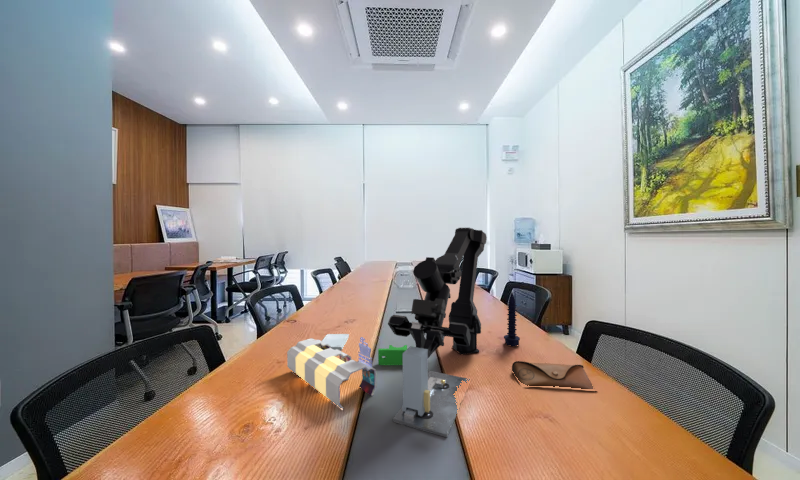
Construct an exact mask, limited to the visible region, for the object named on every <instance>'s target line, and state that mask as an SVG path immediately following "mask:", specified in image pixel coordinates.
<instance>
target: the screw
mask: <svg viewBox="0 0 800 480" xmlns="http://www.w3.org/2000/svg"><path fill="white" fill-rule="evenodd" d="M516 304H517V303H516V299H515V295H514V293H513V291H511V292H510V294H509V298H508V303H507V304H506V306H507V309H506V310H507V314H506V315H507V319H506V320H507V324H506V325H507V328H506V329H507V330H508V331H507V333H506V334H505V335H504V336H503V339H504V343H505V344H506V346H507V345H511V346H510V347H513V346H515V347H518V346H517V345H520V340H521V338H520V337H519V336H518V335H517V327H516V326H518V325H517V324H516V323H517V322H516V321H518V320H517V319H516V317H517V316H518V315H517V314H516V313H517V311H518V309H517V305H516Z"/></svg>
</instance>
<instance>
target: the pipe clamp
mask: <svg viewBox="0 0 800 480" xmlns="http://www.w3.org/2000/svg"><path fill="white" fill-rule="evenodd" d="M407 349H408V345H407V344H405V345H403V346H400V347H396V346H393V345H392V344H389V345H388V348H378V350H377V354H378V355H377V359H378V360H377V361H378V362H377V363H378V364H377V365H378V366H403V352H405V351H406V350H407Z"/></svg>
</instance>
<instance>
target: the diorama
mask: <svg viewBox="0 0 800 480" xmlns="http://www.w3.org/2000/svg"><path fill="white" fill-rule="evenodd" d="M365 341H366V339H365V338H364V337H363V336H360V339H359V342H358V348H359V351H358V352H357V353H358V361H356V360H354V359H352V356H351V355H349V354H347V353H345V352H343V351H342V350H338V349H336V350H334V349H332V348H331V346H329V345H328V344H326V343H324V342H322V340H320V339H314V338H308V339H304V340H300V341H297V342H296V344H295V345H294V346H291V347H290V348H289V350H287V352H286V353H287V354H286V355H287V356H286V358H287V360H286V361H287V365H286V366H287V368H288V369H289V370H290V371H291V370H292V371H293V372H294V373H296V374H297V375H298V376H299V377H301V378H302V379H303V380H305V381H306V382H307V383H309V384H310V385H311V386H313V387H314V388H315V389H317V390H318V391H319V392H320V393H322V394H323V395H324V396H326V397H327V398H328V399H330V400H331V401H332V402H334V403H335V404H336V405H338V406H339V407H340V408H344V407H343V405H342V404H341V402H340V400H341V399H340V398H341V389H340V388H341V384H342V383H343V382H344V381H349V378H350V376H351V375H352V374H353V373H357V372H359V371H362V373H361V376H362V379H361V383H360V384H359V387H361V388H362V390H361V391H363V392H365V393H366V394H368V396H369V395H370V397H371V396H374V393H375V391H376V389H377V369H376V368H374V367H373V357H371V354H372V353H371V352H372V347H371V348H370V347H369V343H367V342H365ZM338 356H339V357H338ZM293 372H292V373H293ZM294 373H293V374H294ZM298 376H297V377H298ZM299 377H298V378H299ZM302 379H301V380H302ZM303 380H302V381H303ZM306 382H305V383H306ZM307 383H306V384H307ZM311 386H310V387H311ZM359 387H358V388H359ZM315 389H314V390H315ZM319 392H318V393H319ZM320 393H319V394H320ZM324 396H323V397H324ZM328 399H327V400H328ZM332 402H331V403H332Z"/></svg>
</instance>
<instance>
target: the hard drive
mask: <svg viewBox="0 0 800 480" xmlns="http://www.w3.org/2000/svg"><path fill="white" fill-rule="evenodd" d="M349 337H350V334H349V333H328V334H326V335H325V336H324V338H323V339H322V340H321V341H322V342H324V343H326V344H328V345H329V346H331V348H332V349H334V350H336V349H338V350H340V351H343V350H342V349H344V348H343V347H345V346H344V345H346V343H347V341H348V339H349Z"/></svg>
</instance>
